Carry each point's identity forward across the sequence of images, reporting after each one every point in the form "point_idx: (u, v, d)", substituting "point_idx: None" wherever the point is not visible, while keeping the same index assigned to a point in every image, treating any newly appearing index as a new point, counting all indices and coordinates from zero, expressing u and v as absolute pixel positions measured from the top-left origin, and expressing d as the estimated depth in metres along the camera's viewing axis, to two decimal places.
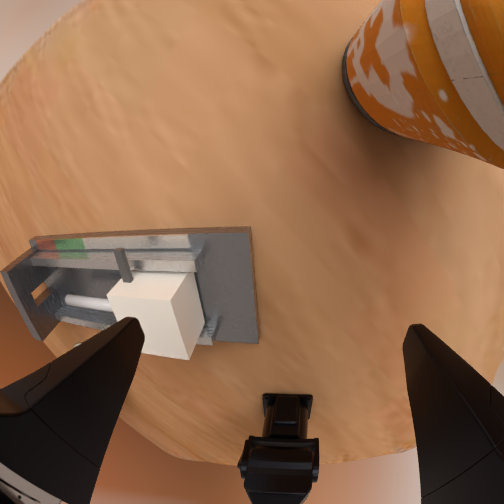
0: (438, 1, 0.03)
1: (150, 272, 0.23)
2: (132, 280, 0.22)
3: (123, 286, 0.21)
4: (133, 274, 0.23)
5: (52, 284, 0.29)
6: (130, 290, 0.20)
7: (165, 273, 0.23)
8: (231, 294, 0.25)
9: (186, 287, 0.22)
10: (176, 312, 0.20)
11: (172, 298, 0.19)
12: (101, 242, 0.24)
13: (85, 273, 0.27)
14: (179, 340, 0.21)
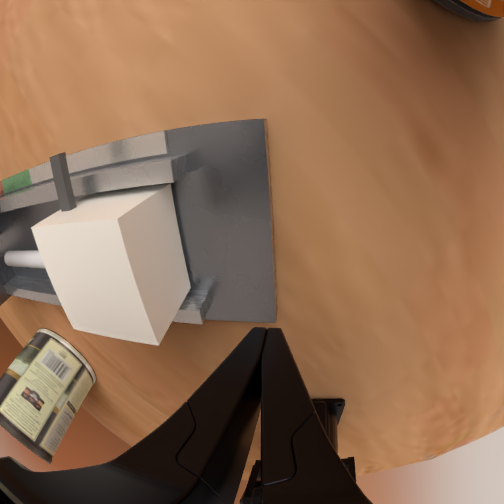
0: None
1: (104, 197, 0.13)
2: (74, 208, 0.12)
3: (58, 215, 0.11)
4: (80, 202, 0.13)
5: (3, 246, 0.19)
6: (64, 217, 0.11)
7: (125, 194, 0.13)
8: (233, 235, 0.15)
9: (157, 213, 0.12)
10: (131, 248, 0.10)
11: (123, 216, 0.10)
12: (49, 168, 0.14)
13: (33, 222, 0.17)
14: (139, 305, 0.11)
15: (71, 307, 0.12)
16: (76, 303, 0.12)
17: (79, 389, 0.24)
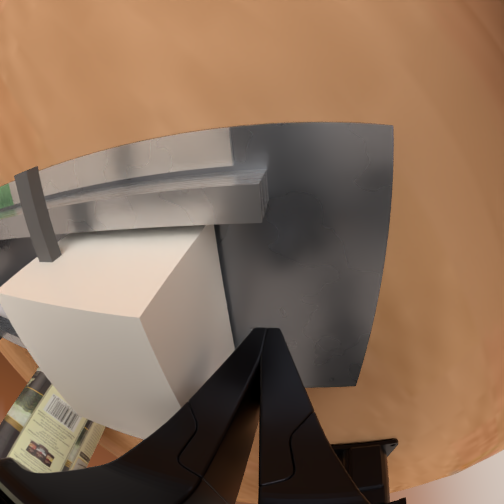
0: None
1: (104, 237, 0.08)
2: (59, 256, 0.07)
3: (34, 271, 0.07)
4: (67, 244, 0.08)
5: None
6: (41, 281, 0.06)
7: (139, 236, 0.08)
8: (327, 292, 0.10)
9: (198, 274, 0.08)
10: (167, 355, 0.06)
11: (149, 307, 0.05)
12: None
13: (20, 255, 0.12)
14: None
15: (72, 398, 0.08)
16: (78, 397, 0.07)
17: (92, 436, 0.19)
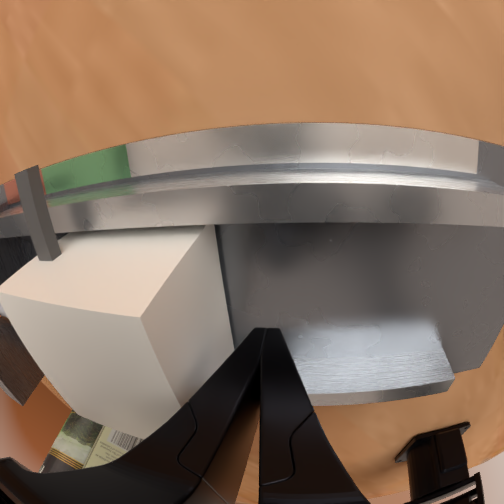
0: None
1: (104, 236, 0.08)
2: (59, 256, 0.07)
3: (34, 270, 0.07)
4: (67, 243, 0.08)
5: None
6: (41, 280, 0.06)
7: (140, 236, 0.08)
8: (497, 284, 0.09)
9: (199, 274, 0.08)
10: (168, 354, 0.06)
11: (150, 307, 0.05)
12: (197, 145, 0.08)
13: None
14: None
15: (71, 397, 0.08)
16: (77, 396, 0.07)
17: None
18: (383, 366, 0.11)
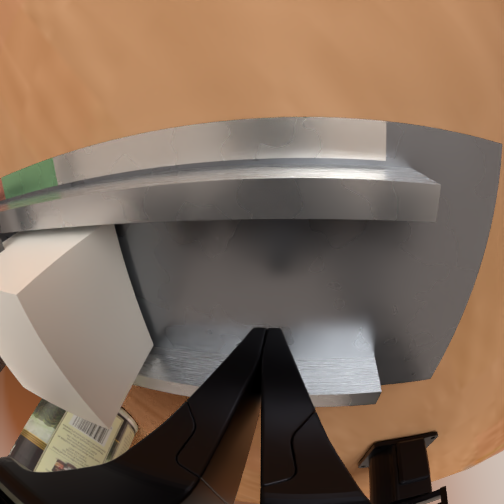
0: None
1: (35, 235, 0.09)
2: (2, 251, 0.08)
3: None
4: (12, 241, 0.09)
5: None
6: None
7: (55, 235, 0.08)
8: (436, 289, 0.09)
9: (89, 267, 0.08)
10: (47, 328, 0.06)
11: (27, 289, 0.05)
12: (98, 156, 0.08)
13: None
14: (73, 392, 0.07)
15: (13, 368, 0.08)
16: (16, 367, 0.08)
17: (123, 449, 0.18)
18: (298, 369, 0.11)
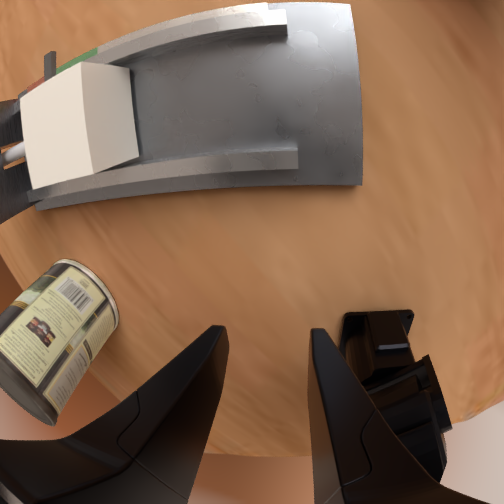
0: None
1: None
2: None
3: None
4: None
5: None
6: None
7: None
8: (327, 87, 0.14)
9: (113, 78, 0.13)
10: (86, 85, 0.10)
11: (85, 63, 0.10)
12: (126, 39, 0.13)
13: None
14: (83, 131, 0.11)
15: (34, 162, 0.12)
16: (38, 155, 0.12)
17: (99, 327, 0.23)
18: (237, 150, 0.16)
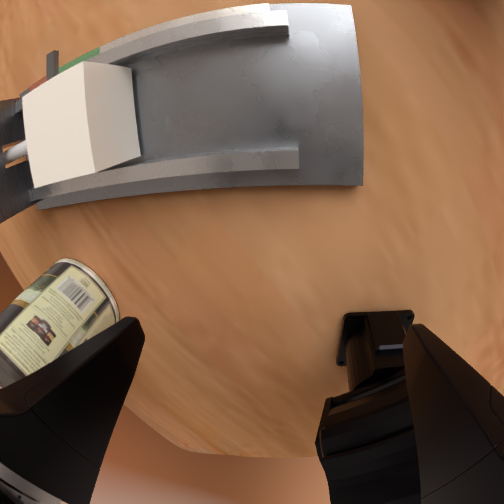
0: None
1: None
2: None
3: None
4: None
5: None
6: None
7: None
8: (327, 87, 0.14)
9: (115, 78, 0.13)
10: (89, 84, 0.11)
11: (88, 62, 0.10)
12: (128, 39, 0.13)
13: None
14: (85, 130, 0.11)
15: (36, 161, 0.13)
16: (40, 154, 0.12)
17: (100, 327, 0.23)
18: (238, 150, 0.16)
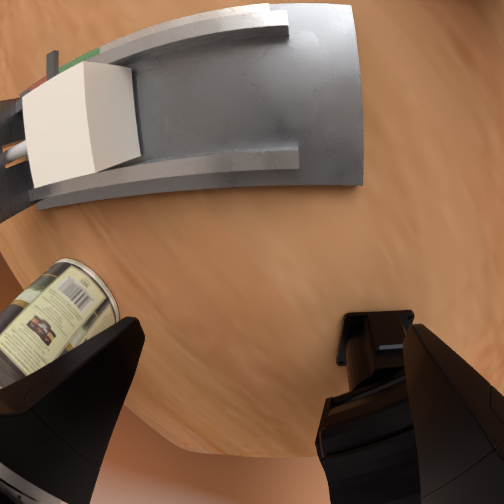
0: None
1: None
2: None
3: None
4: None
5: None
6: None
7: None
8: (327, 87, 0.14)
9: (115, 78, 0.13)
10: (89, 84, 0.11)
11: (88, 62, 0.10)
12: (128, 39, 0.13)
13: None
14: (85, 130, 0.11)
15: (36, 161, 0.13)
16: (40, 154, 0.12)
17: (100, 327, 0.23)
18: (238, 150, 0.16)
